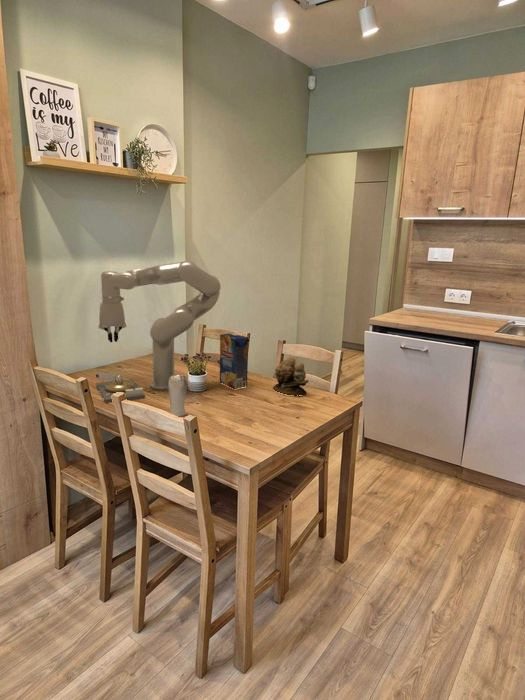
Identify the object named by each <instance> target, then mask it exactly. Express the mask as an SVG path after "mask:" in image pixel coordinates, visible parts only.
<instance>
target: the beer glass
mask: <svg viewBox="0 0 525 700" xmlns="http://www.w3.org/2000/svg"><path fill="white" fill-rule="evenodd" d="M187 387H188V385H187V377H186V375H181V374H174V375H173V376H170V377H169V380H168V390H167V392H168V398H169V404H170V412H169V414H170V413H172V414H174V415H176V416H181V417H180V418H183V417H184V416H185V415H186V409H185V408H186V407H185V406H186V405H185V404H186V396H187Z"/></svg>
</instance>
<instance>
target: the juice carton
mask: <svg viewBox="0 0 525 700" xmlns="http://www.w3.org/2000/svg"><path fill="white" fill-rule="evenodd" d="M219 337H220V338H219V384H220V383H223V384H225V385H227V386H229V387H231V388H233V389H237V388H241V387H245V386H247V387H248V369H249V367H248V366H249V364H248V363H249V337H248V336H245V335H241V334H237V333H234V332H231V333H222V334H219Z"/></svg>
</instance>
